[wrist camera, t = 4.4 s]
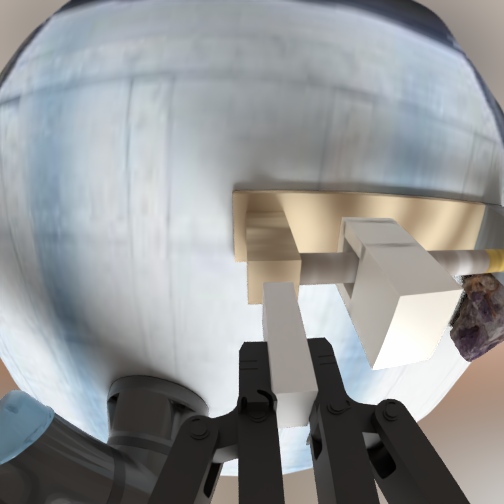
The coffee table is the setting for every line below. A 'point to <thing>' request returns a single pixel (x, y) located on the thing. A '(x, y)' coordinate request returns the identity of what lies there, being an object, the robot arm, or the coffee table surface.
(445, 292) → the sleeve
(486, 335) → the rock
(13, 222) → the coffee table surface
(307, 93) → the coffee table surface
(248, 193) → the rail
